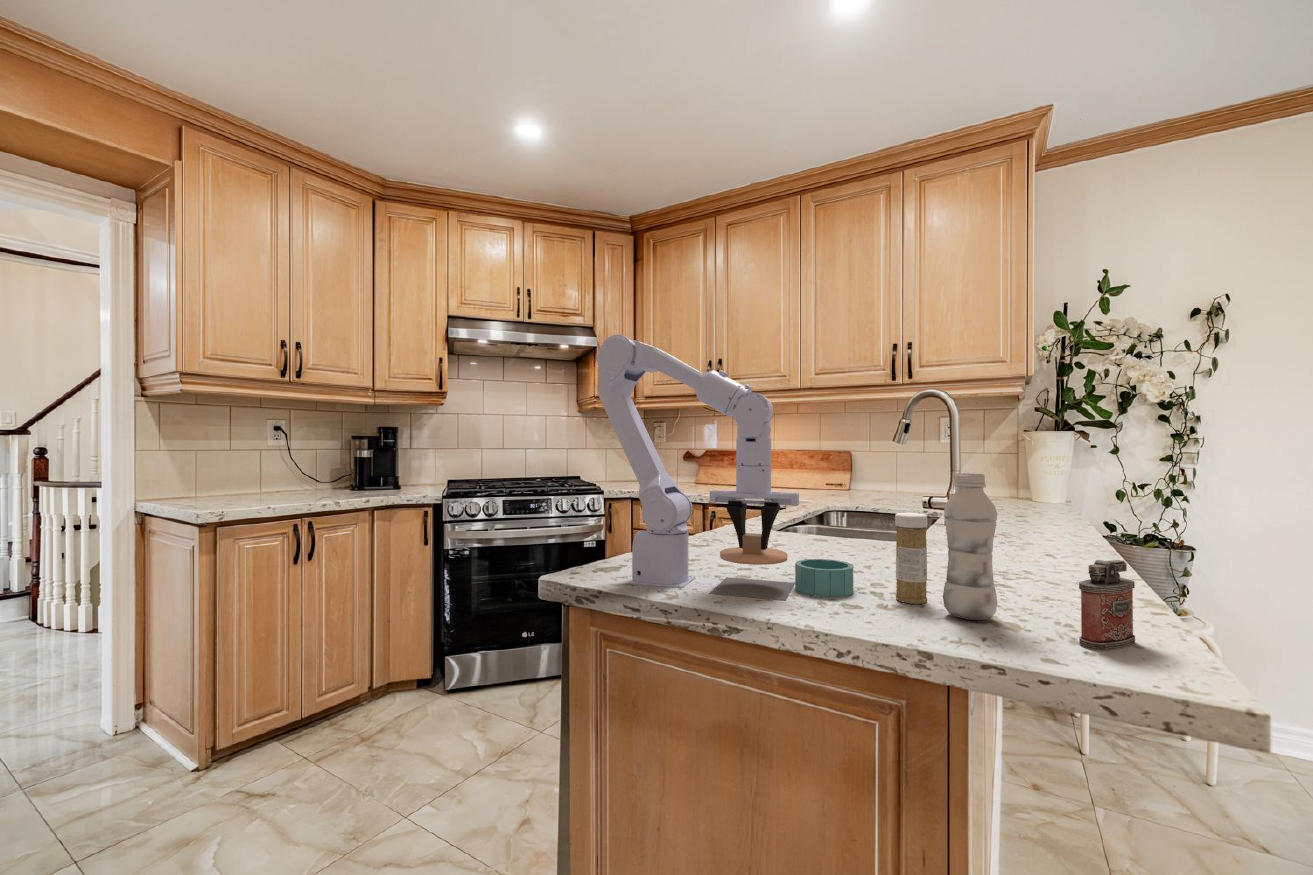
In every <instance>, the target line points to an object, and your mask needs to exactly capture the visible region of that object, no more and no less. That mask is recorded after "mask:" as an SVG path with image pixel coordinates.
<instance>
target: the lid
mask: <svg viewBox="0 0 1313 875" xmlns="http://www.w3.org/2000/svg"><path fill="white" fill-rule="evenodd" d="M761 537H762V533H753V532H746V533H745V534H744V535H743V548H739V546H738V547H729V548H724V549H721V550H720V551H719V558H720V559H721V560H723V561H724V562H725V561H726V562H729V563H732V564H733V563H735V564H742V565H756V566H757V565H761V566H762V565H764V566H765V565H777V564H782V563H785V562H787V561H788V558H789V556H788V553H787V552H785V551H783V550H780V549H775V548H767V549H766V550H762V549H761Z"/></svg>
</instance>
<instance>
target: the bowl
mask: <svg viewBox="0 0 1313 875" xmlns="http://www.w3.org/2000/svg"><path fill="white" fill-rule="evenodd" d="M794 568H795V569H794V578H795V580H794V583H795V585H794V586H795V588H794V589H795V590H796V591H798V592H799V593H801V594H804V595H809V596H813V597H819V598H820V597H821V598H844V597H849V596H852V595H854V564H852V563H849V562H847V561H843V560H836V559H829V558H828V559H826V558H806V559H800V560H796V561H795V566H794Z"/></svg>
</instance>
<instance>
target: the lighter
mask: <svg viewBox="0 0 1313 875" xmlns="http://www.w3.org/2000/svg"><path fill="white" fill-rule="evenodd" d="M1127 564H1128V563H1127V562H1125V560H1122V559H1114V560H1113V559H1112V560H1107V561H1106V560H1102V559H1096V560H1095V561H1094V563H1093V564H1088V574H1089V578H1088V579H1085V580H1082V581H1079V582H1078V589H1079V590H1080V610H1081V611H1080V612H1081V613H1080V614H1081V615H1080V616H1081V619H1080V622H1081V626H1080V627H1081V628H1080V629H1081V630H1080V631H1081V633H1080V634H1081V636H1079V641H1078V642H1079V644H1078V645H1079V646H1080V647H1082V648H1084V649H1088V650H1092V651H1100V652H1104V651H1105V652H1107V651H1116V650H1121V649H1125V648H1130V647H1132V646H1133V645H1135V644H1136V635H1135V634H1134V619H1133V618H1134V616H1133V615H1134V614H1133V613H1134V608H1133V607H1134V605H1133V603H1134V600H1133V598H1134V597H1133V596H1134V594H1133V589H1135V586H1136V584H1135V582H1136V581H1135V580H1132V579H1129V578H1122V577H1121V574H1119V573H1123V572H1127V571H1128V570H1127V569H1128V568H1127V567H1128V566H1127Z"/></svg>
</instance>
